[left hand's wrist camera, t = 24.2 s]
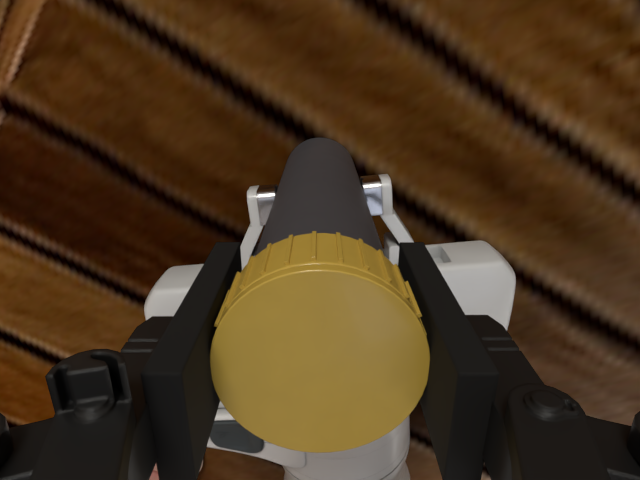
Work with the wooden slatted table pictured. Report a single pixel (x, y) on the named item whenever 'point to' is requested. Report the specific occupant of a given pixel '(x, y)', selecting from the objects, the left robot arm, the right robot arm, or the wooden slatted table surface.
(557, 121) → the wooden slatted table surface
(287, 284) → the lid
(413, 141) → the wooden slatted table surface
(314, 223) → the dark grey slim bottle
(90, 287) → the wooden slatted table surface
